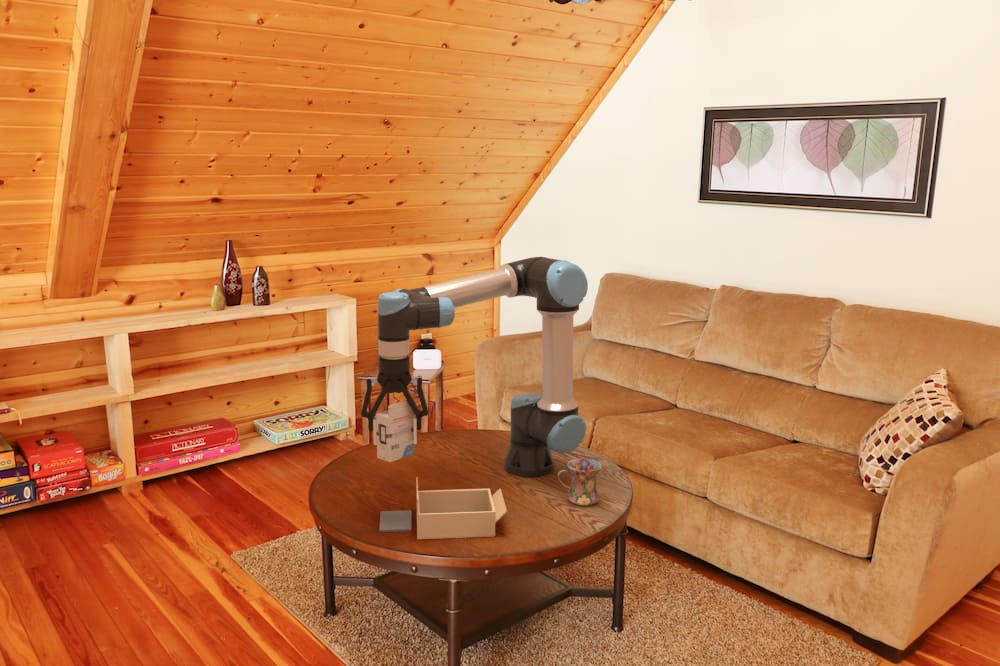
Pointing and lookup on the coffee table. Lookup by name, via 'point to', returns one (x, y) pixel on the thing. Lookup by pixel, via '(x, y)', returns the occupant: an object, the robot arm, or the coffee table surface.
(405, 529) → the felt pad
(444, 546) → the coffee table surface
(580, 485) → the mug
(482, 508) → the carton
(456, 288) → the robot arm
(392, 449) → the ink box
